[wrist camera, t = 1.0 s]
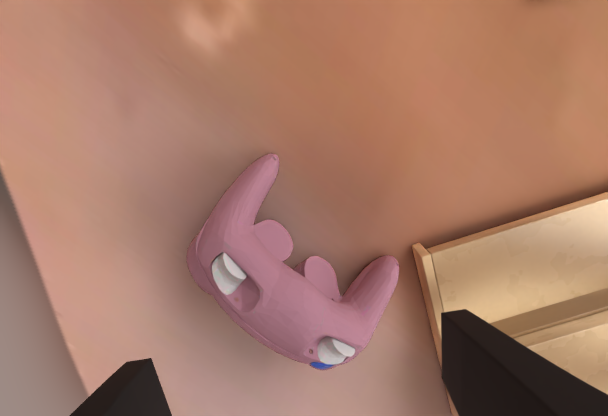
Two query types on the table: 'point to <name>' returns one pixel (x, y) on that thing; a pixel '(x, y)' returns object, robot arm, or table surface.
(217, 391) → the table surface
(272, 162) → the video game controller
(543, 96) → the table surface
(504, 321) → the step shelf
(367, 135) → the table surface
